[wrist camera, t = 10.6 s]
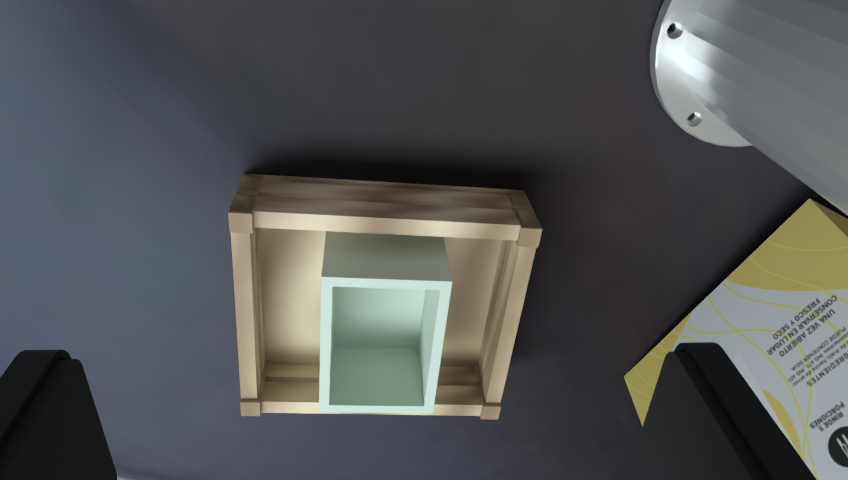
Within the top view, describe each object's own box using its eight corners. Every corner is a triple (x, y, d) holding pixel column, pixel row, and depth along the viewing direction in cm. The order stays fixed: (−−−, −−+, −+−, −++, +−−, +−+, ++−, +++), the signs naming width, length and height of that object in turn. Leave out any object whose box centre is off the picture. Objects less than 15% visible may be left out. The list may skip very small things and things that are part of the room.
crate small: (441, 225, 39) (452, 281, 34) (425, 349, 44) (432, 413, 39) (327, 220, 38) (321, 277, 33) (324, 346, 43) (318, 412, 38)
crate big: (524, 190, 39) (542, 229, 35) (486, 370, 47) (498, 419, 43) (243, 173, 37) (228, 212, 33) (252, 364, 45) (241, 415, 40)
